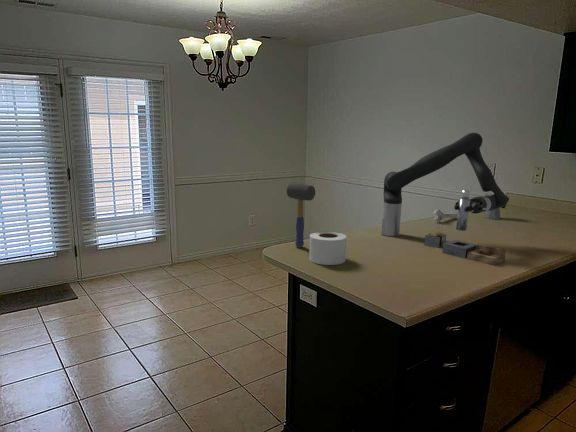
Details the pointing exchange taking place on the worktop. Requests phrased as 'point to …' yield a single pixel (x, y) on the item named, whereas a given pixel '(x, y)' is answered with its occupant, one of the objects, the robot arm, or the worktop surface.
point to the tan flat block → (438, 231)
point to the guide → (435, 240)
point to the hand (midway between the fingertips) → (461, 208)
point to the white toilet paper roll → (327, 248)
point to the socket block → (458, 248)
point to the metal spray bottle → (463, 211)
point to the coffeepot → (494, 211)
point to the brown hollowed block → (487, 255)
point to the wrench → (443, 215)
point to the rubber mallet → (300, 206)
